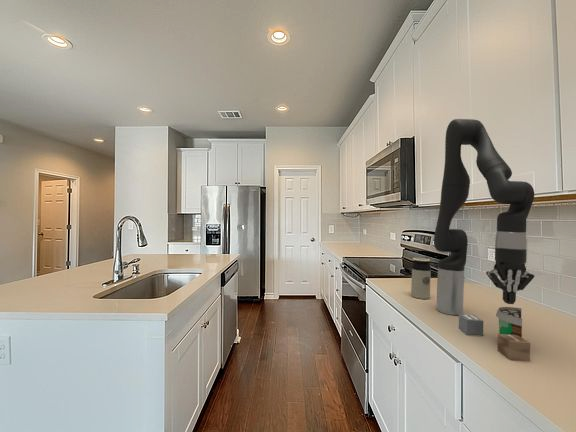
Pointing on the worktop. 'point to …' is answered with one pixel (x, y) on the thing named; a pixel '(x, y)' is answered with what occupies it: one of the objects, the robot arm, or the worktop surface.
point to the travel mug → (421, 278)
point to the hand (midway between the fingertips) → (508, 303)
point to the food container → (510, 321)
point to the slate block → (471, 325)
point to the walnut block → (513, 347)
